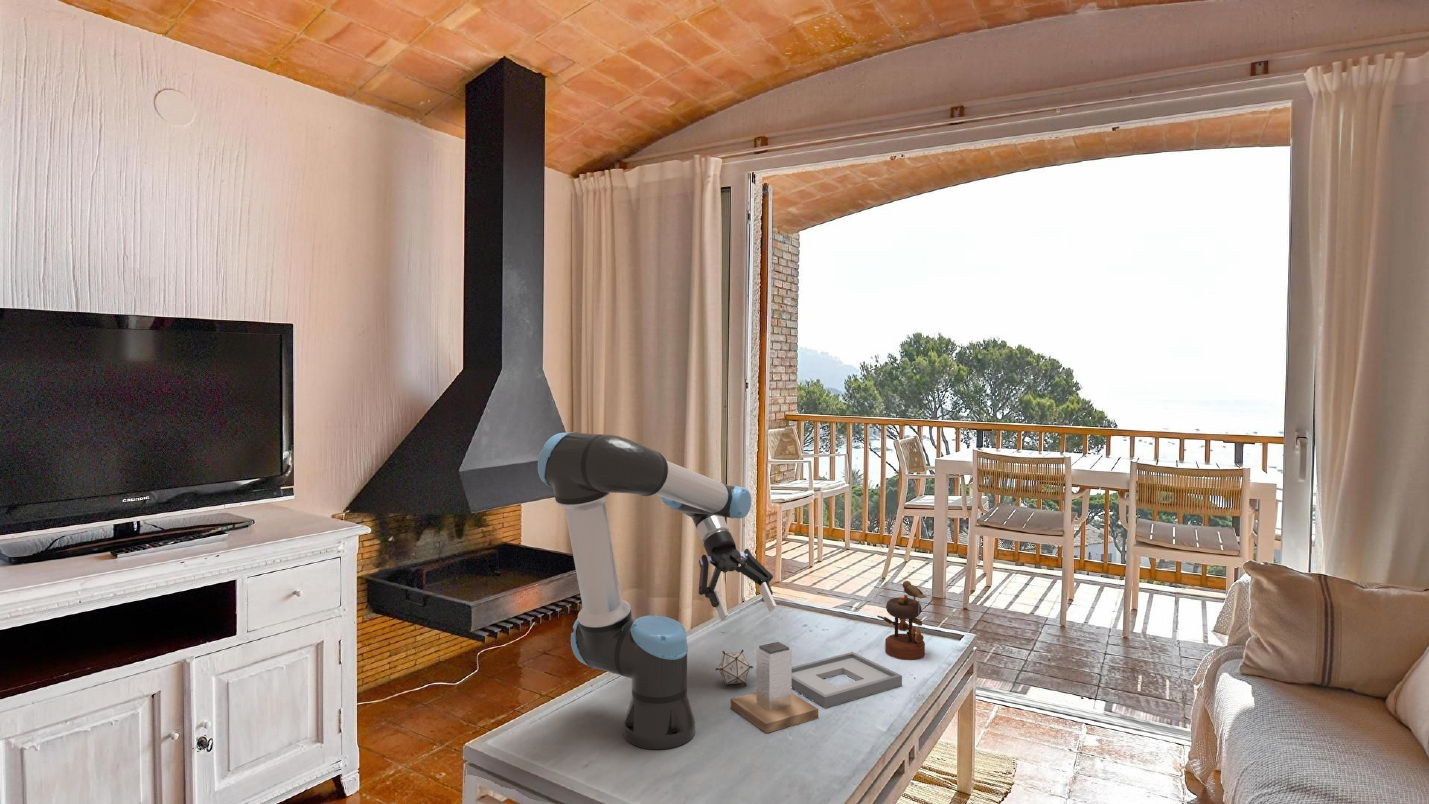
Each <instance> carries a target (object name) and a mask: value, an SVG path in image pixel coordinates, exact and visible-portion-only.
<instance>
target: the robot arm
mask: <svg viewBox="0 0 1429 804" xmlns="http://www.w3.org/2000/svg"><path fill="white" fill-rule="evenodd" d="M537 472H538V476H539V478H540V480H541V481H542V483H543V484H545V485H546V486H548V487H550V488H552V490H553V495H554V499H555V503H556V504H557V505H558V506H561V508H562V507H563V508H564V513H565V518H566V519H565V520H566V524H567V529H568V535H569V539H570V540H569V541H570V545H571V551H572V556H573V563H574V567H575V571H576V572H575V573H576V578H577V582H578V583H577V584H578V588H579V589H578V590H579V595H580V599H581V605H582V607H581V609H580V610H579V612H578V614H577V619H576V620H575V621H574V623H573V626H572V629H573V632H571V633H570V646H571V650H572V653H573V655H574V656H575V658H576V659H577V660H578V662H579V663H582V664H583V665H586V666H588V667H589V668H591V669H595V670H597V671H598V670H599V671H604V672H608V673H612V674H615V675H619V676H622V677H625V678H629V679H631V699H630V701H629V705H628V707H627V711H626V714H625V717H624V720H623V736H624V739H625V740H626V742H628V743H630V744H632V745H634V746H635V747H639V748H642V749H649V750H666V749H671V748H676V747H679V746H682V745H684V744H686V743H688V742H689V741H690V740H692V738H694V736H695V734H696V719H695V716H694V712H693V710H692V708H691V704H690V700H689V697H688V651H689V646H688V639H687V637H688V636H687V631H686V628H685V627H684V625H682V624H681V623H680V622H679V621H678V620H676V619H673V618H671V617H667V616H664V615H663V616H662V615H654V614H653V615H651V614H650V615H643V616H640V617H638V618H636V619H633V614H632V613H633V612H632V610H631V604H630V603H629V602H628V600H627V601H626V600H624V599H623V597H622V591H621V585H620V580H619V572H618V568H617V562H616V556H615V552H614V551H615V550H614V545H613V539H612V532H611V527H610V520H609V515H608V509H607V503H606V500H607V498H608V497H609V496H610V494H611V493H615V494H632V495H638V496H640V497H652V496H658V497H660V498H661V501H662V503H664V505H666V506H668V507H669V508H670V509H672V510H675V511H677V512H679V513H682V514H684V515H686V516H688V517H690V518H691V519H692V523H694V526H695V529H696V531H697V533H698V535H699V537H700V540H701V542H702V543H703V548H704V550H705V553H706V554H702V556H701V557H700V559H698V563H699V568H700V570H699V571H700V572H699V581H698V595H700V596H703V595H704V597H705V598H706V599H709V602H710V604H711V606H712V607H713V608H715V609H716V612H717V615H718V617H719V618H720V621H721V622H724V621H725V620H726V619H727V617H728V616H729V613H728V611H727V608H726V606H725V603H724V601H723V598H722V597H721V594H720V591H719V590H718V589H717V590H715V588H716V587H717V584H718V581H719V578H720V575H721V572H722V573H723V574H724V573H727V572H737V573H741V574H742V575H744V576H745V577H746V578H748V579H750V580H751V581H752V582H754V583H756V584H757V585H758V589H759V592H760V595H761V596H762V599H763V601H764V603H765V605H766V608H767V610H768V613H770V612H773V610H774V609H775V608H776V607H777V604H776V601H775V600H774V597H773V595H774V593H773V590H772V587H771V585H770V582H771V581H772V580H773V578H774V576H773V574H771V572H770V571H769V570H768V569H767V568H766V567H764V565H763V564H761V562H759V561H758V560H757V558H755V556H753V554H752V553H751V550H750V549H749V548H745V549H744V550H743V551H738V549H737V546H736V542H735V539H734V537H733V536H732V533H731V532H730V527H729V526H728V524H727V522H726V519H725V518H729V519H744V518H746V517H747V516H748V514H749V512H750V511H751V506H752V495H751V493H750V491H749V490H748V488H746V487H743V486H738V485H735V486H734V485H728V484H726V483H723V482H722V481H721V482H720V481H718V480H716V479H713V478H711V477H708V476H706V475H703V474H701V473H699V472H697V471H693V470H691V469H688V468H685V467H683V466H681V465H679V464H676V463H673V462H671V461H669V460H667V458H666V457H665V455H663V454H662V453H661V452H659V451H657V450H655V449H652V448H650V447H647V446H645V445H643V444H641V443H638V442H636V441H633V440H631V439H628V438H626V437H622V436H619V435H615V434H604V433H603V434H600V433H585V432H578V431H571V432H570V431H569V432H559V433H556V434H554V435H552V436H551V437H550V438H549V439H548V440H547V441H546V442H545V443H544V444H543V448H542V449H541V450H540V452H539V455H538V459H537ZM710 564H711V565H712V566H713V567H714V570H713V572H712V576H711V579H710V581H709V584H708V579H709V578H708V577H709V567H710V566H709V565H710ZM739 565H740V566H739Z"/></svg>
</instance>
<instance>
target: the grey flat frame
mask: <svg viewBox="0 0 1429 804" xmlns="http://www.w3.org/2000/svg"><path fill="white" fill-rule="evenodd" d="M842 674H843V675H845V676H847V677H849V678H851V679H853V680H854V679H855V681H852V682H849V683H848V682H847V683H845V684H842V685H838V686H836V685H834V684H832V683H830V682H829V681H826V680H825V679H827V677H828V678H831V677H830V676H832V677H836V676H840V675H842ZM824 678H825V679H824ZM902 686H903V675H901V674H900V673H898V672H895V671H893V670H891V669H889V668H887V667H885V666H883V665H881V664H879V663H876V662H875V661H872V660H870V659H869V658H866V657H863V656H862V655H859V654H858V653H856V652H853V651H850V652H847V653H842V654H839V655H835V656H830V657H827V658H823V659H818V660H815V661H814V660H813V661H810V662H806V663H803V664H798V665H795V666H792V680H791V687H792V688H793V689H792V688H791V689H792V690H794V691H795V692H797V691H798V693H800V695H802V694H803V695H802V696H804V697H806V698H807V697H808V698H807V699H809V700H811V701H812V700H813V701H812V702H814V703H816V704H817V703H818V705H819V706H820V707H822V706H823V707H822V708H824V709H827V708H830V707H834V706H837V705H841V704H844V703H848V702H850V701H854V700H857V699H858V700H859V699H861V698H865V697H868V696H872V695H875V694H878V693H879V694H880V693H881V692H884V690H885V691H889V690H892V689H895V687H896V688H898V687H902Z"/></svg>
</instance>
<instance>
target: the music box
mask: <svg viewBox="0 0 1429 804" xmlns="http://www.w3.org/2000/svg"><path fill="white" fill-rule="evenodd" d="M902 588H903V593H905V594H903V597H902V596H899V597H892V598H889V600H887V602H886V604H885V609H886V612H887V613H888V615H889V616H891V617H892V618H893V617H894V621H893V620H891V619H890V618H888V617H886V616H882V615H876V616H877V618H879V619H882V620H883V621H884V622H886V623H888V624H889V625H891V624H892V626H894V633H893V634H890V635H888V636H887V637H886V638H885V639H884V641H885V643H884V647H885V648H884V649H885V651H884V652H885V654H886V655H887V656H889V657H892V658H893V659H898V660H904V661H917V660H920V659H923V658H924V657H925V655H926V653H925V651H926V643H925V641H924V639H925V636H924V635H923V634H922V633H921V630H920V628H919V627H921V626H923V620H921V619H920V615H921V613H922V605H921V603H920V599H926V598H928V596H927V595H926V594H924V593H923V592H922V590H920V589H919V587H918V586H916V585H913V584H912V582H911V581H909V580H904V581H903V582H902ZM908 596H909V597H910V598H909V597H908ZM911 597H913V598H911ZM916 598H917V599H918V600H916ZM906 620H908V623H907V622H906ZM913 624H915V625H918V628H917V627H916V626H913ZM899 631H900V632H901V631H903V632H906V633H899Z"/></svg>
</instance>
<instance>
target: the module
mask: <svg viewBox="0 0 1429 804" xmlns="http://www.w3.org/2000/svg"><path fill="white" fill-rule="evenodd" d="M792 653H793V650H792V649H791V648H790V647H789V646H788V645H785V644H784V643H781V642H779V641H775V642H771V643H767V644H761V645H758V646H757V647H756V692H755V693H756V703H758V704H759V705H761V706H762V707H764V708H765V709H767V710H768V711H772V710H776V709H779V708H783V707H786V706H790V705H791V693H792V688H791V680H792V667H793V665H792V660H793V659H792V658H793V657H792Z"/></svg>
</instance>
